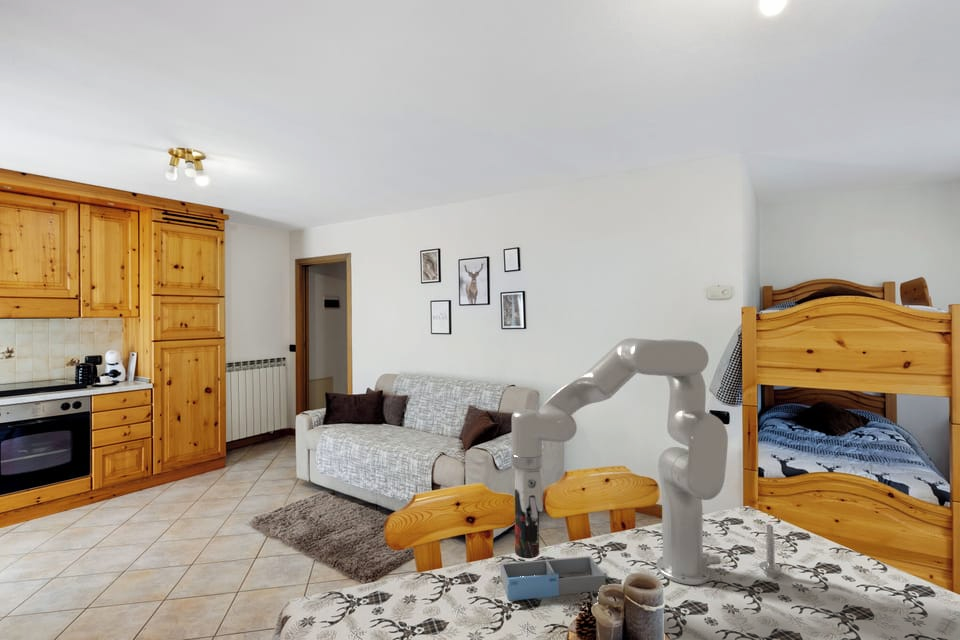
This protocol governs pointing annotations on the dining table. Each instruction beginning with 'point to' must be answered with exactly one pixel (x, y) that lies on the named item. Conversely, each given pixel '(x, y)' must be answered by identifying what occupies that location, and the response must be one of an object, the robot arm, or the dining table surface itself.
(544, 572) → the two-compartment tray
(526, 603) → the dining table surface
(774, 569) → the screw
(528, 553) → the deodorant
